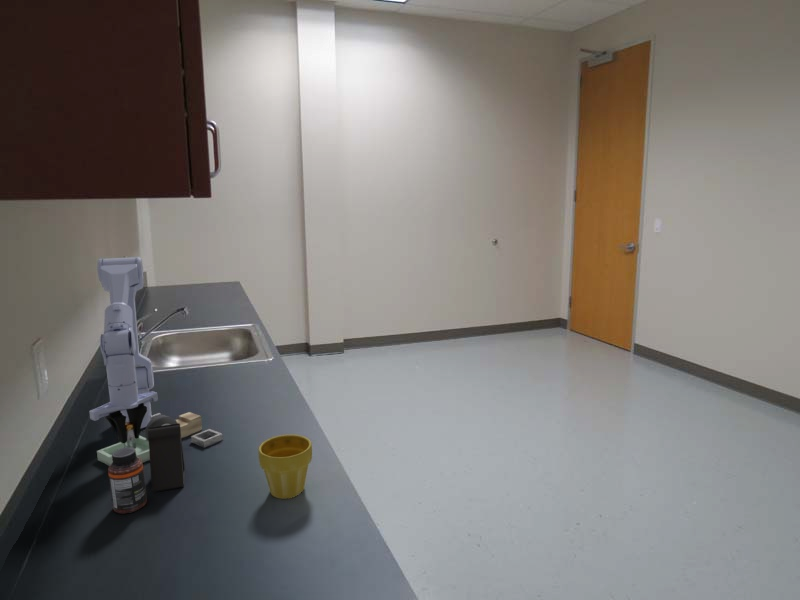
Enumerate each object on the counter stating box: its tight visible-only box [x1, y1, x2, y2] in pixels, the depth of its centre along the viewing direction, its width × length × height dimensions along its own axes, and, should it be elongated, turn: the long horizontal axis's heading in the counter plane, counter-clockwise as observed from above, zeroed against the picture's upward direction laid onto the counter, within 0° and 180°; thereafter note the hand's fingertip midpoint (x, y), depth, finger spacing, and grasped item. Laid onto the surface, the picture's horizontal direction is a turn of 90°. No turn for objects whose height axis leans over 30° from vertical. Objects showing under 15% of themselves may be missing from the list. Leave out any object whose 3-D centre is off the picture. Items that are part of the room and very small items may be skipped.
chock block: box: [175, 411, 203, 439], centre depth 137 cm, size 5×7×4 cm
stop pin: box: [124, 422, 136, 449], centre depth 123 cm, size 2×2×6 cm
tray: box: [96, 434, 150, 467], centre depth 124 cm, size 10×10×2 cm
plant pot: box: [258, 434, 313, 500], centre depth 108 cm, size 10×10×10 cm
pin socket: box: [190, 428, 224, 448], centre depth 131 cm, size 5×5×2 cm
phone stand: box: [148, 423, 186, 494], centre depth 112 cm, size 9×6×12 cm, turn 19°
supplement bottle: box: [107, 448, 148, 514], centre depth 103 cm, size 6×6×11 cm
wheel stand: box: [144, 412, 177, 440], centre depth 130 cm, size 5×7×7 cm
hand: (128, 439), depth 123 cm, fingers closed on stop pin, 2 cm apart
